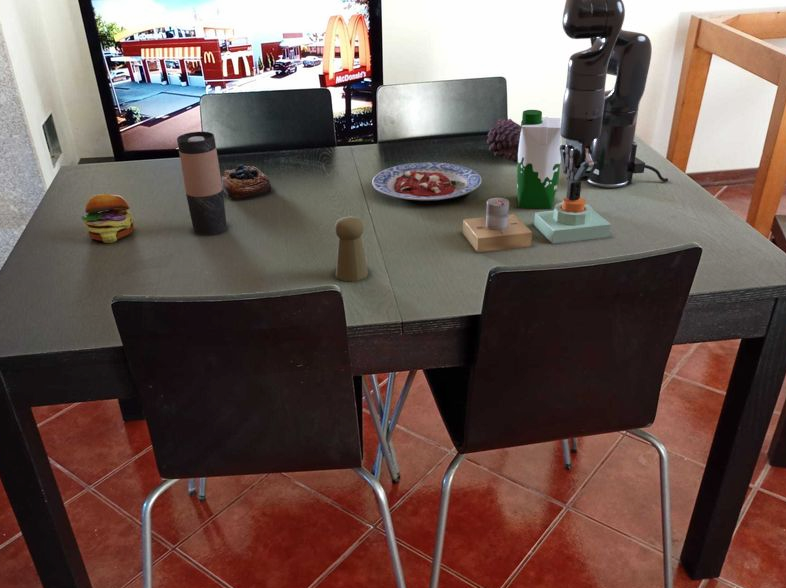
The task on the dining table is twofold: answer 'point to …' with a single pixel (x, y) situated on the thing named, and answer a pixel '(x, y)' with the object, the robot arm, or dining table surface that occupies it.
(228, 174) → the pastry
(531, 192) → the milk carton
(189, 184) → the travel mug
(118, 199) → the cheeseburger
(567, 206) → the orange button cap
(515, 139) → the purple grape bunch
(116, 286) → the dining table surface
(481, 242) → the panel
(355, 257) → the wooden pawn
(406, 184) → the ceramic plate
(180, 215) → the dining table surface
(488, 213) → the dial
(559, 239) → the button base
